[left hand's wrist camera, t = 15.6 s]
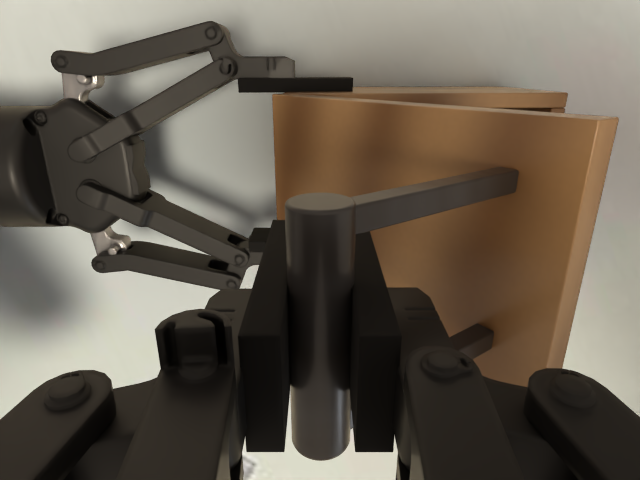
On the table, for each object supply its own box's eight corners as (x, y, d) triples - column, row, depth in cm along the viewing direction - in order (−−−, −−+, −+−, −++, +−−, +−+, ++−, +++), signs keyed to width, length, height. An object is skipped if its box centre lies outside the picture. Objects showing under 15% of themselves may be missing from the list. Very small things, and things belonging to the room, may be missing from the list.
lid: (620, 117, 12) (364, 151, 7) (554, 402, 15) (351, 562, 10) (290, 93, 24) (114, 100, 19) (294, 254, 27) (145, 294, 22)
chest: (502, 86, 33) (568, 92, 24) (485, 207, 36) (539, 252, 27) (292, 86, 33) (282, 93, 24) (295, 207, 36) (287, 252, 27)
